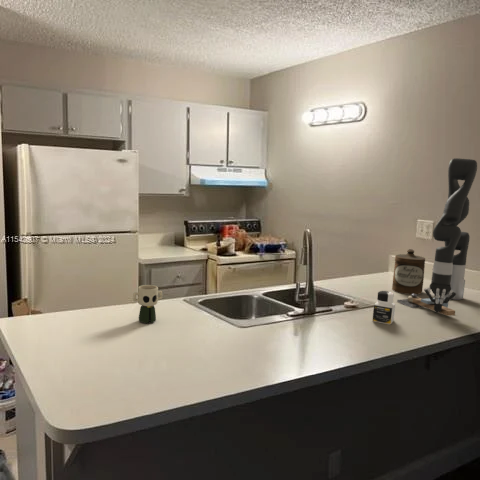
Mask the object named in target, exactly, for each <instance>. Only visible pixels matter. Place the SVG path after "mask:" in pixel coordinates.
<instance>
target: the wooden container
mask: <svg viewBox="0 0 480 480" xmlns="http://www.w3.org/2000/svg"><path fill="white" fill-rule="evenodd" d="M406 251H407V253H406V254H395V257H394V268H393V275H392V286H391V287H392V288H391V290H392V291H394V292H396V293H400V294H404V295H411V294H412V293H413V294H417V295H420V294H423V290H424V289H423V286H424V281H425V280H424V277H425V264H426V258H425V257H424V256H422V255H421V256H420V255H415V254H414V253H415V250H413V249H412V248H411V249H410V248H409V249H407V250H406Z"/></svg>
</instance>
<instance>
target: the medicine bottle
mask: <svg viewBox="0 0 480 480" xmlns="http://www.w3.org/2000/svg"><path fill="white" fill-rule="evenodd" d="M395 309H396V303H395V302H394V293H393V292H391V291H388V290H380V291H378V292H377V300H376V302H375V303H374V304H373V313H372V322H374V323H380V324H385V325H391V324H392V323H393V322H394V320H395V311H396V310H395Z"/></svg>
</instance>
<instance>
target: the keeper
mask: <svg viewBox="0 0 480 480" xmlns="http://www.w3.org/2000/svg"><path fill="white" fill-rule="evenodd" d="M432 298H433V299H435V297H432ZM444 299H445V298H444ZM421 302H423V303H426V304H434V302H432V301H431V300H430V298H429V297H428V298H421ZM442 306H444V307H447V308H449V302H448V303H444V304H442Z"/></svg>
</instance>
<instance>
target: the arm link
mask: <svg viewBox="0 0 480 480" xmlns="http://www.w3.org/2000/svg"><path fill="white" fill-rule="evenodd" d="M407 299H408V301H409V302H412V303H415V304H418V305H420V306H423V307H422V308H425V309H429V310H431V311H434V312H435V310H434V304H426V303H423V302H421V299H422V298H421V297H419V296H417V297H411V295H408V297H407ZM439 314H442V315H445V316H451V317H452V316H456V310H455V309H452V308H449V307H448V308H447V307H444V306H442V310H441V311H440V313H439Z"/></svg>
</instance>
